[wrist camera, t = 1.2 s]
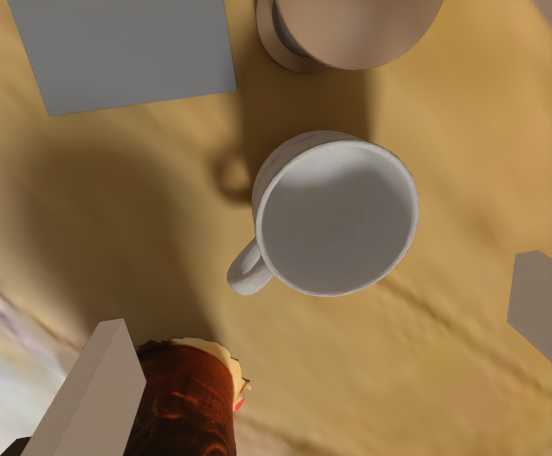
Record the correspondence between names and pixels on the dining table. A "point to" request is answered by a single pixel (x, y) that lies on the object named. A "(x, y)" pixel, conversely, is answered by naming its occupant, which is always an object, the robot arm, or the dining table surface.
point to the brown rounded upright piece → (341, 31)
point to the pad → (124, 51)
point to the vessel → (186, 400)
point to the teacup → (327, 216)
